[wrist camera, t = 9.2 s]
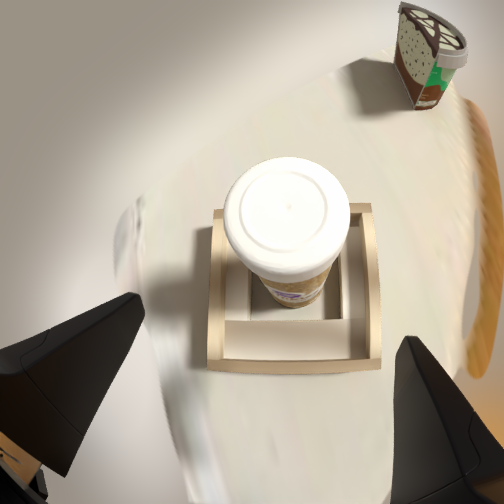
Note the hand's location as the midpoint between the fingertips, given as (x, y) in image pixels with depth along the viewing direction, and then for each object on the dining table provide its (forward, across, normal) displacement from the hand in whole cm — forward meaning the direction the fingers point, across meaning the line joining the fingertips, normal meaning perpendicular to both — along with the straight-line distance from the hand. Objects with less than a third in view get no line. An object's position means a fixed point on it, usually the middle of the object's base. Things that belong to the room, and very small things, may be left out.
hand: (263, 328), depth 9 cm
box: (+12, 0, +7) cm, 14 cm away
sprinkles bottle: (+12, 0, +7) cm, 14 cm away
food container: (+30, -14, -12) cm, 35 cm away
